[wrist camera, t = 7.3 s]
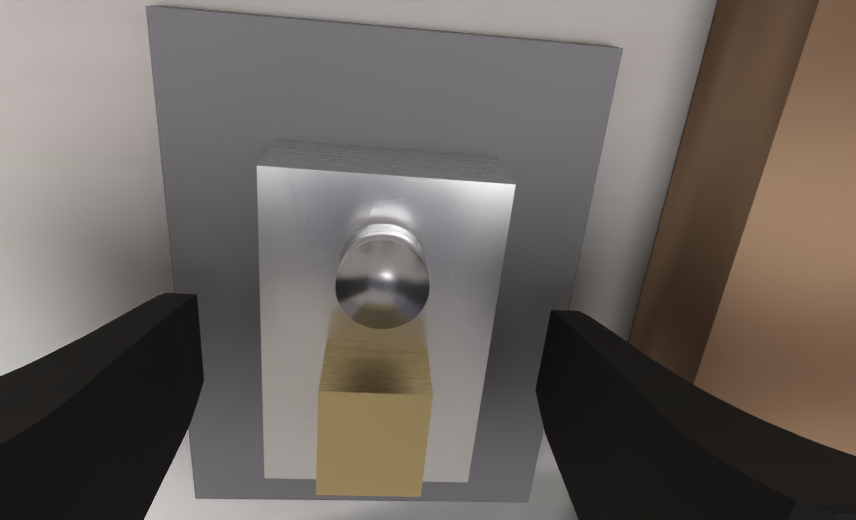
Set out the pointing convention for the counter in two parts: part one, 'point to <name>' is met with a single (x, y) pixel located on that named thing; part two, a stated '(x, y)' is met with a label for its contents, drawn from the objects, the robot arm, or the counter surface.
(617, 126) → the counter surface
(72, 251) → the counter surface
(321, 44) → the mat
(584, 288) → the counter surface
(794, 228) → the body
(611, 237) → the counter surface
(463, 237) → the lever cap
